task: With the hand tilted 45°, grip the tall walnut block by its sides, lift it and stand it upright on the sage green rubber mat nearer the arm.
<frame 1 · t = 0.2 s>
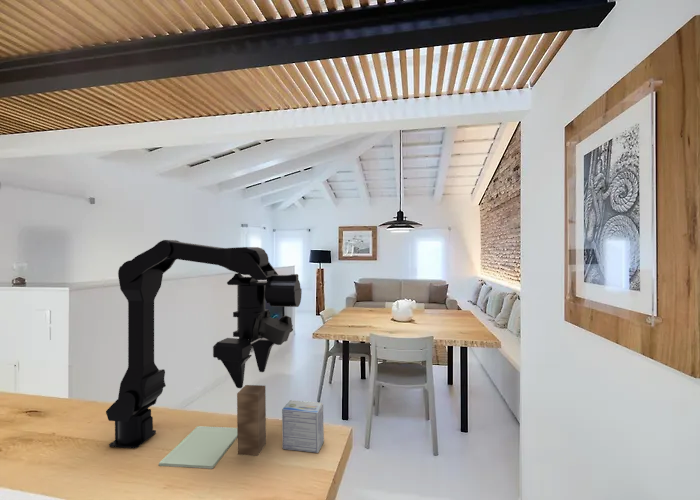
hand: (251, 379, 73), 14 cm above the counter, tool pointing down, fingers open, 9 cm apart
rubber mat: (204, 446, 73), on the counter
walnut block: (252, 448, 72), on the counter
medicine box: (303, 447, 73), on the counter
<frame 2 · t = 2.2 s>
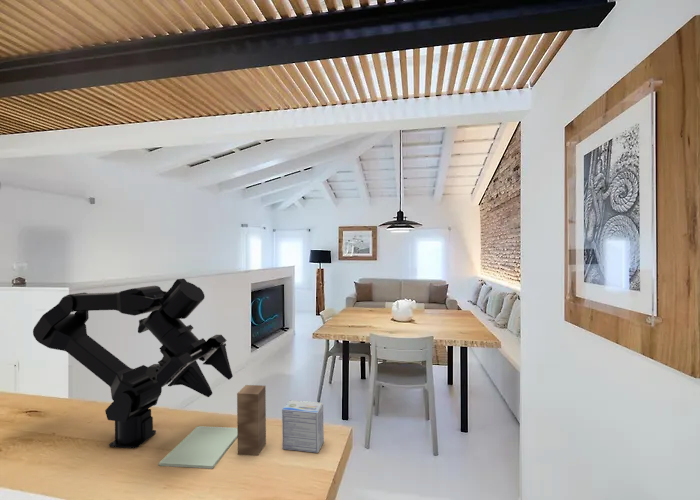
hand: (221, 386, 73), 13 cm above the counter, tool tilted 45°, fingers open, 9 cm apart
nothing on the counter moved.
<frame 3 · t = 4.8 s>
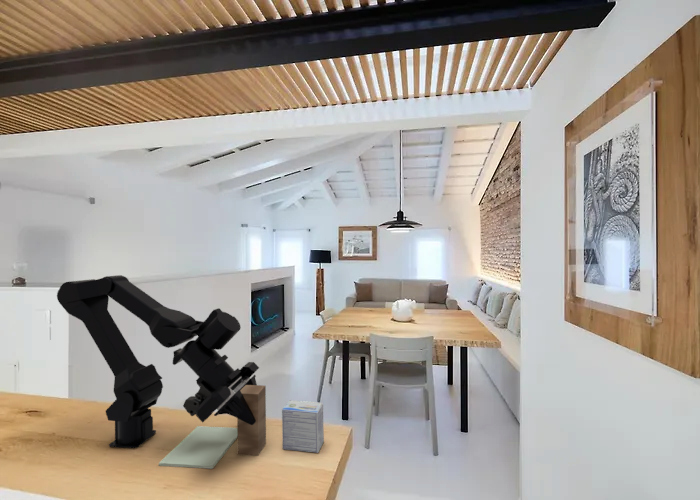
hand: (258, 417, 72), 7 cm above the counter, tool tilted 45°, fingers closed on walnut block, 4 cm apart
walnut block: (252, 448, 72), on the counter, touching gripper
everything else where it was.
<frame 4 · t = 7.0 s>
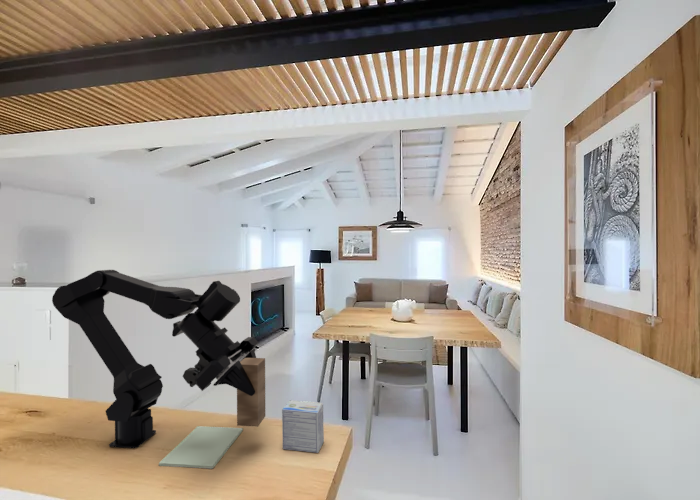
hand: (257, 389, 72), 12 cm above the counter, tool tilted 45°, fingers closed on walnut block, 4 cm apart
walnut block: (251, 420, 72), point 6 cm above the counter, touching gripper
everything else where it was.
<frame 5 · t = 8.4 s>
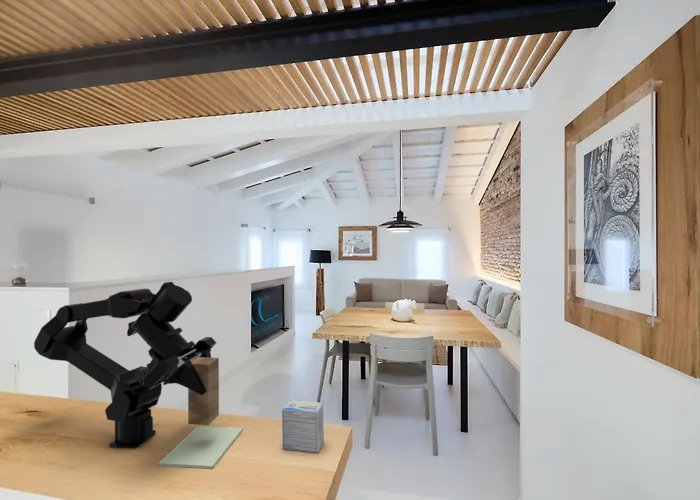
hand: (210, 388, 73), 12 cm above the counter, tool tilted 45°, fingers closed on walnut block, 4 cm apart
walnut block: (204, 419, 73), point 6 cm above the counter, touching gripper
everything else where it was.
when the fingers open (8 cm above the counter, at t = 9.5 s): walnut block drops 1 cm, resting on rubber mat.
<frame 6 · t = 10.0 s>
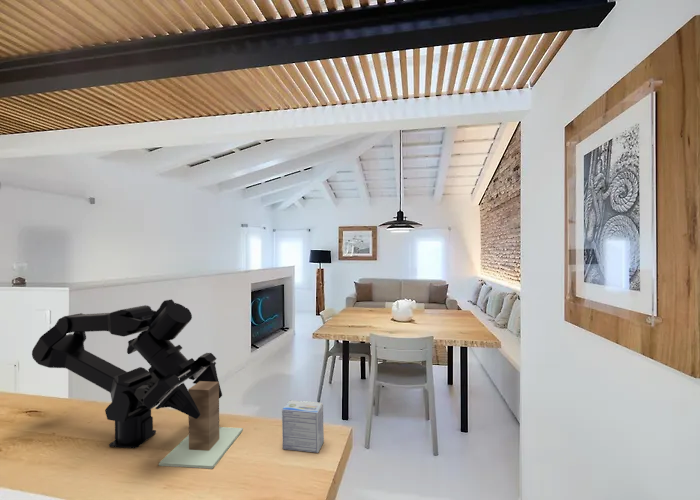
hand: (210, 406, 73), 9 cm above the counter, tool tilted 45°, fingers open, 9 cm apart
walnut block: (204, 444, 73), resting on rubber mat
everything else where it was.
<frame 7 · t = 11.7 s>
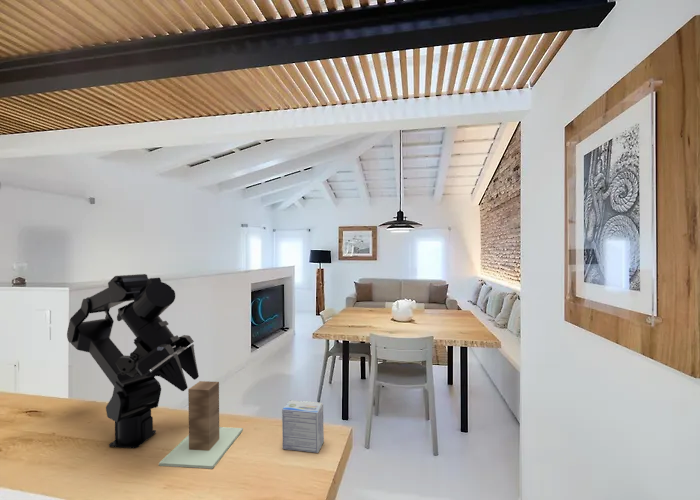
hand: (191, 383, 74), 13 cm above the counter, tool tilted 35°, fingers open, 9 cm apart
nothing on the counter moved.
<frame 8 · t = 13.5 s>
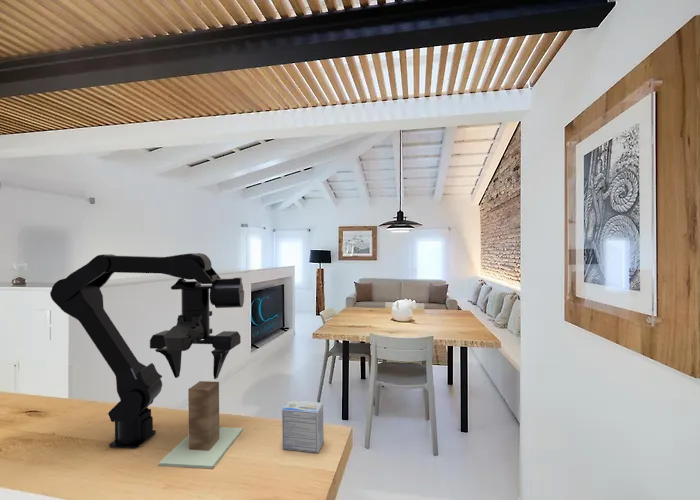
hand: (196, 377, 78), 13 cm above the counter, tool pointing down, fingers open, 9 cm apart
nothing on the counter moved.
at the end: walnut block inside the target area (0.0 cm from its centre), point 0.5 cm above the counter; walnut block tilted 0°; the gripper is holding nothing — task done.
